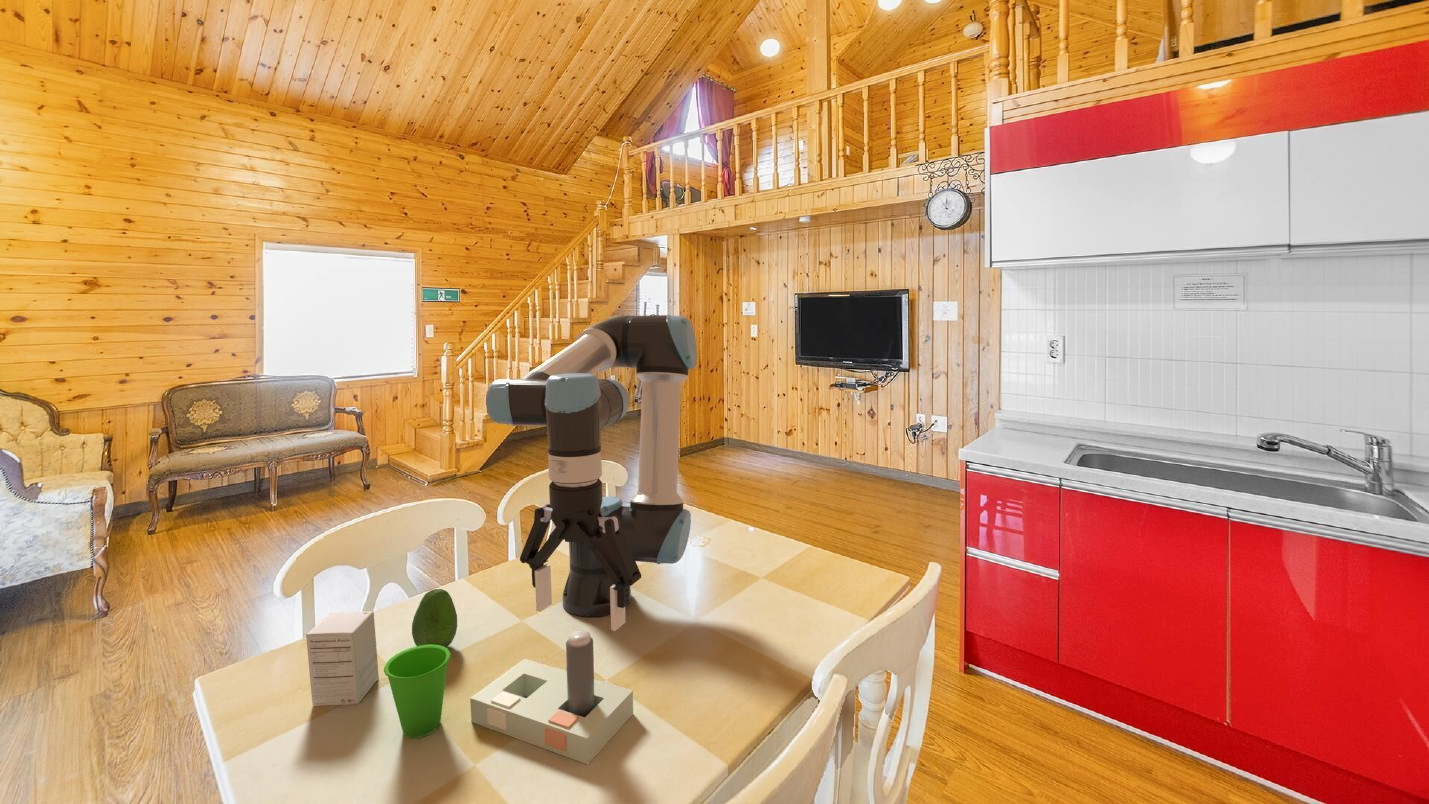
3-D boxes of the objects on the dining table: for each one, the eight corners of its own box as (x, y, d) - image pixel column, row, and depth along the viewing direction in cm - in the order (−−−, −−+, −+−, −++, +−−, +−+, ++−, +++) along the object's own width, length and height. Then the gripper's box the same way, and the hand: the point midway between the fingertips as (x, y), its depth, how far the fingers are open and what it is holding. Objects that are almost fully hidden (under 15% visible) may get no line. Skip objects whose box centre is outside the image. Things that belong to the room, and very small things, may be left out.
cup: (433, 701, 96) (430, 638, 94) (466, 722, 91) (462, 656, 89) (376, 731, 88) (372, 664, 87) (408, 756, 83) (403, 685, 82)
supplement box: (336, 680, 101) (330, 611, 100) (380, 678, 102) (375, 610, 101) (310, 707, 94) (304, 633, 93) (358, 705, 95) (352, 632, 93)
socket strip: (469, 723, 91) (468, 697, 90) (525, 680, 102) (524, 656, 101) (586, 766, 82) (586, 737, 81) (633, 713, 93) (632, 688, 92)
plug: (562, 732, 89) (560, 639, 87) (579, 716, 92) (576, 627, 90) (584, 739, 87) (582, 645, 85) (600, 723, 91) (598, 632, 89)
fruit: (405, 651, 111) (401, 591, 109) (446, 634, 117) (443, 577, 115) (424, 666, 106) (420, 603, 104) (466, 648, 112) (463, 589, 110)
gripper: (491, 476, 86) (498, 611, 89) (635, 497, 76) (638, 647, 79) (526, 465, 93) (532, 590, 96) (663, 483, 83) (664, 621, 86)
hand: (580, 616), depth 88 cm, fingers open, 13 cm apart
